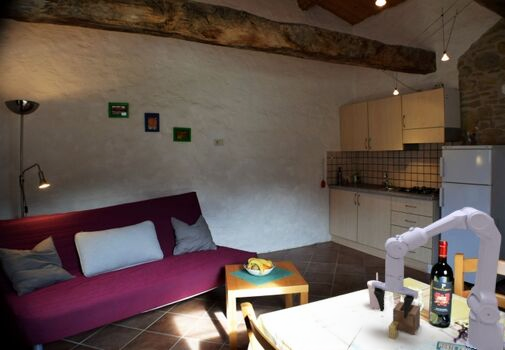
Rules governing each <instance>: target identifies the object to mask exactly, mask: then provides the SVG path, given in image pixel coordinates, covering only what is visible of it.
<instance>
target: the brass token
mask: <svg viewBox="0 0 505 350" xmlns="http://www.w3.org/2000/svg"><path fill="white" fill-rule="evenodd" d="M399 332H400V330H399V322H397V321H393V320H392V321H391V323H390V324H389V325H388V339H390V340H391V339H392V340H396V339H397V337H398V336H399Z"/></svg>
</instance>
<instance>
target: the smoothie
mask: <svg viewBox="0 0 505 350" xmlns="http://www.w3.org/2000/svg"><path fill="white" fill-rule="evenodd" d="M375 274H376V276H375V277H376V280H368V281H367V284H366V285H367V288H368V296H369V305H370V308H371V309H375V310H380V307H379V303H378V300H377V298H376V296H375V294H374V291H375V289H372V282H373V281H374V282H381V283H383V282H382V281H379V274H378V272H376V273H375Z"/></svg>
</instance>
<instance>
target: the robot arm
mask: <svg viewBox="0 0 505 350" xmlns="http://www.w3.org/2000/svg"><path fill="white" fill-rule="evenodd" d="M467 228H468V229H470V230H471V231H473V233H474V234H475V235H476V236H477V237H478V238H479V246H478V255H477V263H476V264H477V265H476V271H475V281H474V286H472V287H471V289H470V293H469V295H468V296H467V297H466V305H467V307H468V308H469V312H468V333H467V337H468V338H467V339H466V341H465V345H470V346H473V347H475V348H476V349H477V350H504V349H505V341H504V340H505V339H504V337H505V336H504V335H505V333H504V332H505V324H504V323H503V322H500V321H499V320H500V317H501V313H500V309H499V307H498V305H499V304H498V303H499V301H498V299H497V295H496V284H497V283H496V282H497V275H498V266H499V259H500V251H501V242H502V235H501V233H500V231H499V229H498V227H497V226H496V223H495V220H494V218H493V217H491V216H490V215H489V214H488V213H486V212H484V211H481V210H479V209H477V208H474V207H472V206H465V207H462V209H457V210H454V211H453V212H452V213H450V214H448V215H446V216H444V217H442V218H440V219H438V220H436V221H435V222H433V223H430V224H429V225H427V226H426V227H423V228H421V227H413V226H412V227H410V228H408V229H409V230H408V231H405V232H403V233H402V234H396V235H395V237H389V238H388V239H386V241H385V243H384V249H385V250H386V254H385V269H384V271H385V274H384V277H385V278H384V279H385V280H384V281H385V282H382V281H380V282H374V281H375V280H372V281H373V282H372V289H375V291H374V294H375V296H376V298H377V300H378V303H379V307H380V308H379V311H380V312H381V313H382V312H384V310H385V296H386V295H385V294H386V292H389V293H393V294H398V295H402V296H405V297H404V298H403V302H404V318H407V317H408V312H409V309H410V306H411V304H413V301H414V300H415V299H416V300H417V299H418V298H419V290H415V289H411V288H409V287H406V286H404V285H405V284H404V282H405V281H404V279H405V277H404V275H405V272H404V271H405V260H404V257H405V255H406V254H407V252H411V251H413V250H414V249H417V248H419V247H421V246H423V245H425V244H427V243H428V241H429V238H431V237H434V236H437V235H439V234H442V233H444V232H447V231H449V230H451V229H460V230H467ZM381 282H382V283H381Z"/></svg>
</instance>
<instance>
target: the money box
mask: <svg viewBox="0 0 505 350" xmlns="http://www.w3.org/2000/svg"><path fill="white" fill-rule="evenodd" d="M392 315H393V316H392V321H397V322H399V332H403V333H407V334H410V335H416V333H417V331H418V329H419V328H420V324H421V322H420V320H421V305H416V304H413V303H412V304H411V306H410V309H409V312H408V317H407V318H404V301H398V302H397V304H396V305H395V306H394V307H393V310H392Z"/></svg>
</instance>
